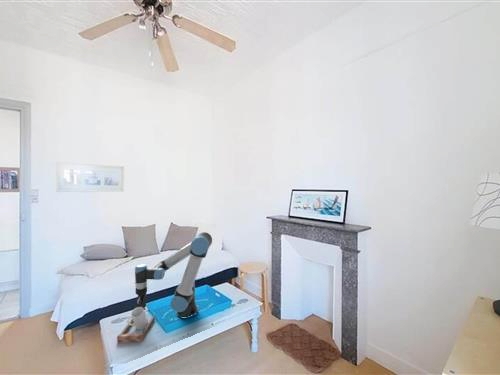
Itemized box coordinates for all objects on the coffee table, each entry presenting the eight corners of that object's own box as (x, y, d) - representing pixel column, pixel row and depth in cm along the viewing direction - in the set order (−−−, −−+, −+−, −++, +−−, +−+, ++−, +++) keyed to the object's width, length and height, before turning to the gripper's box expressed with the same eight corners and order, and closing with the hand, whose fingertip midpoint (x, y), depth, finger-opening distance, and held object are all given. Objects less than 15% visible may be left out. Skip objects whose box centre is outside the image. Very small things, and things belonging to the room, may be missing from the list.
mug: (130, 334, 168) (125, 322, 163) (129, 323, 175) (124, 311, 170) (149, 326, 173) (144, 314, 167) (147, 316, 180) (143, 304, 174)
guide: (154, 320, 182) (154, 314, 182) (142, 341, 158) (141, 335, 158) (133, 321, 181) (133, 315, 181) (117, 342, 157) (117, 336, 157)
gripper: (139, 283, 184) (140, 314, 185) (131, 291, 171) (132, 325, 172) (150, 283, 184) (150, 314, 185) (143, 291, 171) (143, 325, 173)
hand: (142, 319), depth 179 cm, fingers closed
